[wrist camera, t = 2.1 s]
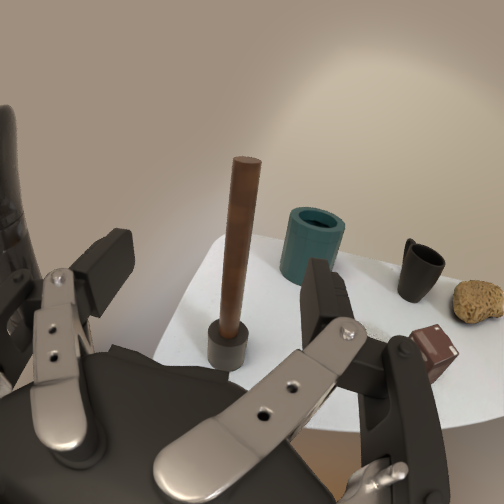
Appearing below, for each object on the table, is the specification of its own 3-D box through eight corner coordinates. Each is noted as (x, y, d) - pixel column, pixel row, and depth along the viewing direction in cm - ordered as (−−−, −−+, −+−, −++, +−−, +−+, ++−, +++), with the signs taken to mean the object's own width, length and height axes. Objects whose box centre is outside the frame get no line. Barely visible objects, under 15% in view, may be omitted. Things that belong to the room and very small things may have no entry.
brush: (201, 363, 31) (206, 160, 19) (216, 339, 35) (231, 150, 23) (236, 377, 30) (268, 171, 18) (249, 350, 34) (282, 160, 22)
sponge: (480, 300, 51) (436, 277, 50) (500, 280, 46) (458, 253, 44) (495, 342, 41) (452, 326, 40) (518, 322, 36) (480, 301, 35)
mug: (411, 274, 55) (426, 238, 50) (431, 308, 45) (452, 269, 40) (381, 269, 55) (396, 231, 50) (399, 306, 45) (420, 263, 40)
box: (387, 364, 33) (411, 329, 30) (414, 356, 35) (438, 322, 31) (405, 397, 28) (434, 364, 25) (432, 385, 30) (460, 352, 26)
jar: (273, 278, 48) (285, 221, 43) (285, 252, 56) (295, 202, 51) (326, 292, 47) (344, 237, 41) (330, 265, 54) (345, 216, 49)
